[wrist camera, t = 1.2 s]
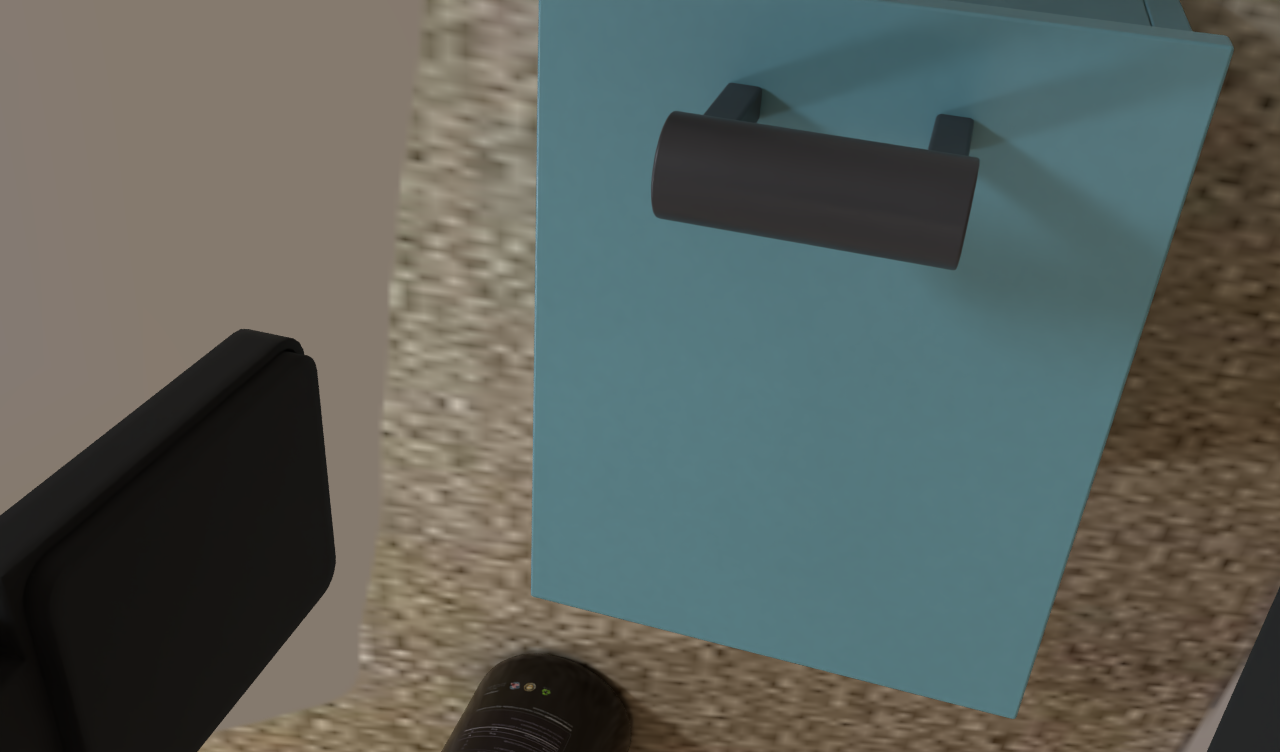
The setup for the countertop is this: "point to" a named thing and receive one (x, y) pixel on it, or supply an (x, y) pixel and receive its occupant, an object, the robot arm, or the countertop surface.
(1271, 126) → the countertop surface
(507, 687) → the supplement bottle
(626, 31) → the teal box lid
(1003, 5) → the teal box
